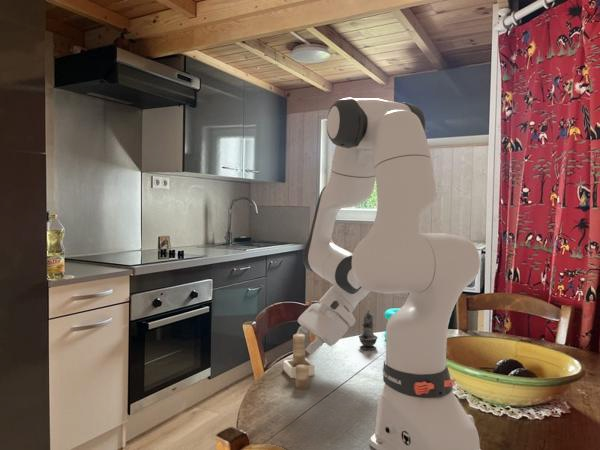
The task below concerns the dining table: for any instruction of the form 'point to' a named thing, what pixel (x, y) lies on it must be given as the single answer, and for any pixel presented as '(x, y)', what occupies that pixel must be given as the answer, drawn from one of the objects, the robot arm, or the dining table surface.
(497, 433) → the dining table surface
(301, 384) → the short pin
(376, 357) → the dining table surface
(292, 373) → the socket
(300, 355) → the long pin
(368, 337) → the dark grey chess piece
